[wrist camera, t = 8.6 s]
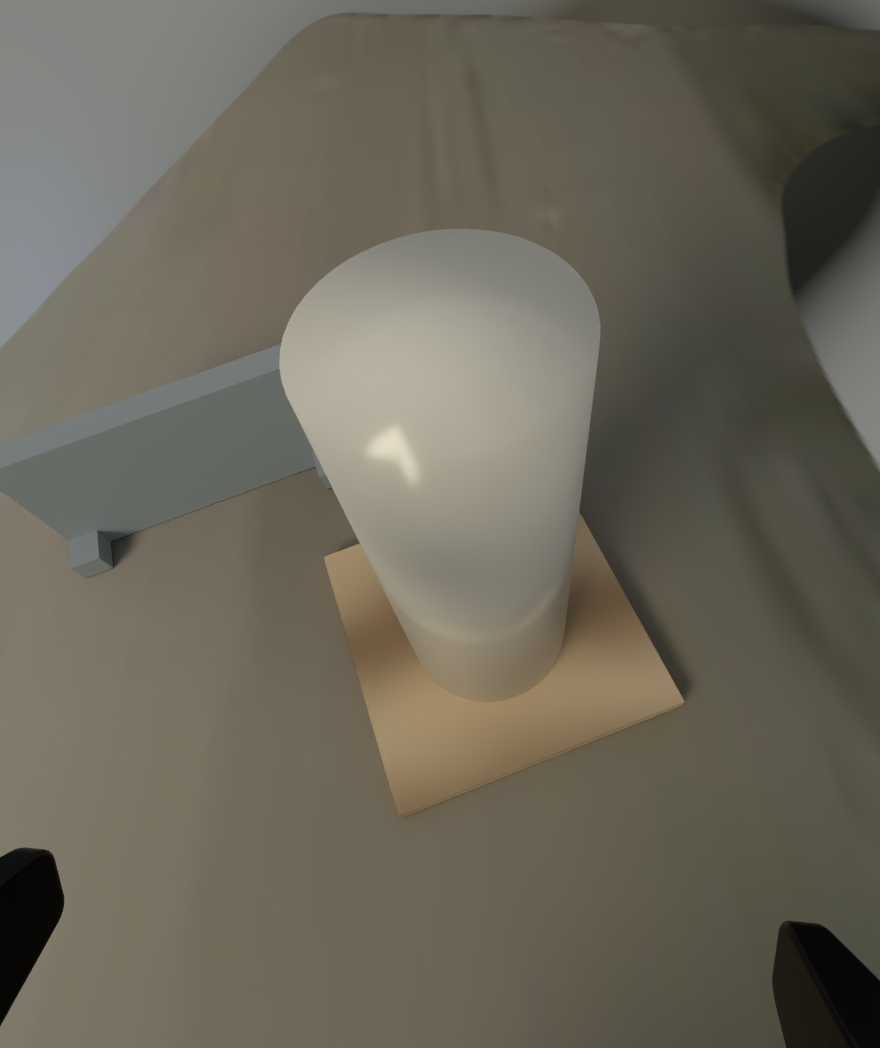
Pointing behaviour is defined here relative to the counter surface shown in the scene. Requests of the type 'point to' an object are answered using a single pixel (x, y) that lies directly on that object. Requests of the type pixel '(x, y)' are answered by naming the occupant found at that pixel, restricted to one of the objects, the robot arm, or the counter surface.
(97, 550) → the screen
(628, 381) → the counter surface
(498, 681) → the canister
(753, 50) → the counter surface
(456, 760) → the mat
